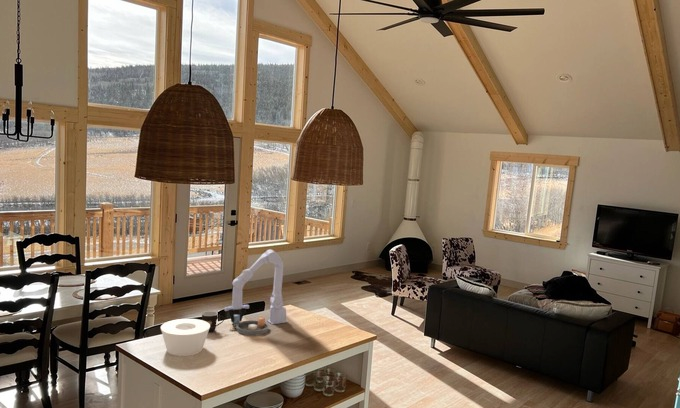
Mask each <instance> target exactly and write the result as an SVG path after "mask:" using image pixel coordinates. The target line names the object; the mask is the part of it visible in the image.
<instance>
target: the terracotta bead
mask: <svg viewBox="0 0 680 408" xmlns="http://www.w3.org/2000/svg"><path fill="white" fill-rule="evenodd" d="M257 321H258V328H264V327H265V323H266V318H265V317H258V318H257Z"/></svg>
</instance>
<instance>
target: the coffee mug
mask: <svg viewBox="0 0 680 408" xmlns="http://www.w3.org/2000/svg"><path fill="white" fill-rule="evenodd" d="M219 318H222V319H223V320H222V321H221V322H219V323H217V321H218V319H219ZM201 320H203V321H206V322H208V323H209V324H210V328H209V331H208V334H212V333H214V332H215V331H216V327H217V326H219V325H221V324H222V323H223V322H224V321H225V317H224V316H223V315H219V316H218V312H217V311H212V310H210V311H207V310H206V311H204V312H202V313H201Z"/></svg>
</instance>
